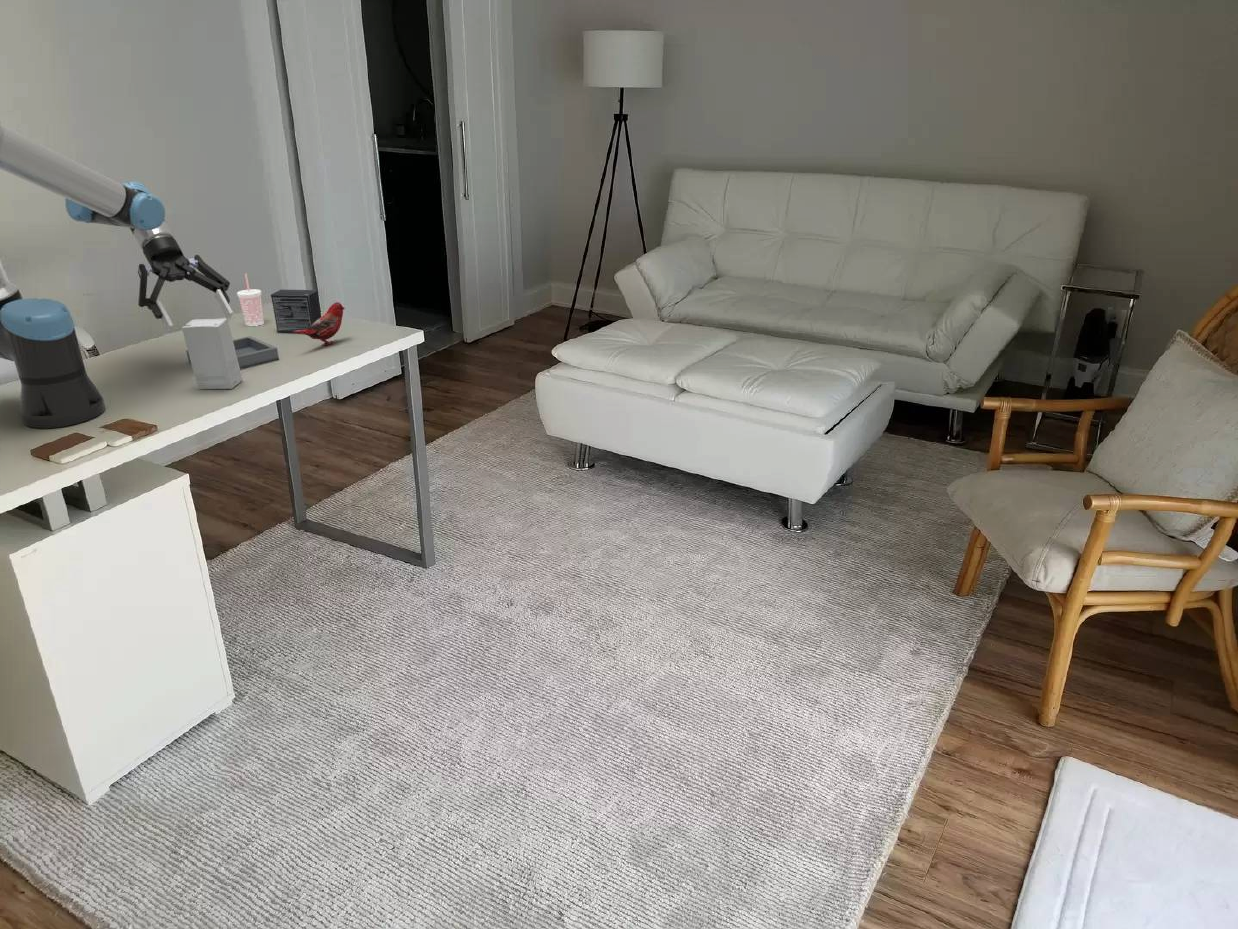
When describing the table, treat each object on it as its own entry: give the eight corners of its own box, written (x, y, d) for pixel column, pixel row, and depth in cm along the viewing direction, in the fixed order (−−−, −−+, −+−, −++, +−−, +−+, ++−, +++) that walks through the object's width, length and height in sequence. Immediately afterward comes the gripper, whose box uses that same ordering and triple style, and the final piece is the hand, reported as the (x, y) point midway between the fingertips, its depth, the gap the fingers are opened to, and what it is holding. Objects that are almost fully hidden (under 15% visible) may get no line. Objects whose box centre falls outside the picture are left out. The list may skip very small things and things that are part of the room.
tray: (214, 375, 208) (211, 363, 206) (188, 362, 217) (186, 350, 215) (279, 359, 218) (277, 347, 217) (252, 347, 227) (250, 335, 226)
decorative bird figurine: (352, 338, 234) (347, 300, 229) (299, 357, 220) (293, 317, 216) (344, 336, 235) (339, 299, 231) (291, 355, 221) (284, 315, 217)
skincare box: (243, 381, 205) (230, 317, 198) (231, 390, 199) (219, 325, 193) (206, 380, 205) (193, 317, 199) (194, 389, 200) (180, 325, 193)
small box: (324, 327, 243) (318, 289, 239) (314, 334, 237) (308, 295, 233) (287, 326, 244) (280, 288, 239) (276, 333, 238) (269, 294, 234)
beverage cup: (238, 325, 244) (228, 274, 238) (255, 319, 249) (246, 269, 243) (254, 328, 242) (244, 277, 236) (271, 322, 247) (262, 272, 240)
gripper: (209, 246, 216) (250, 319, 213) (99, 263, 199) (142, 343, 197) (215, 226, 210) (257, 302, 208) (102, 243, 194) (146, 325, 191)
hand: (201, 322), depth 202 cm, fingers open, 13 cm apart
